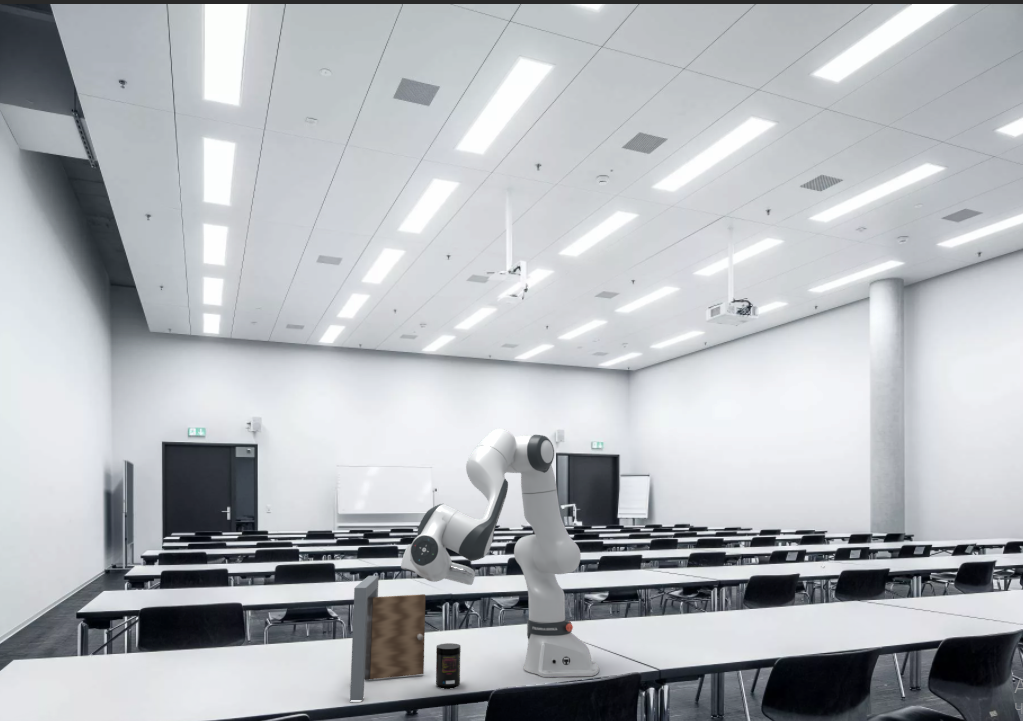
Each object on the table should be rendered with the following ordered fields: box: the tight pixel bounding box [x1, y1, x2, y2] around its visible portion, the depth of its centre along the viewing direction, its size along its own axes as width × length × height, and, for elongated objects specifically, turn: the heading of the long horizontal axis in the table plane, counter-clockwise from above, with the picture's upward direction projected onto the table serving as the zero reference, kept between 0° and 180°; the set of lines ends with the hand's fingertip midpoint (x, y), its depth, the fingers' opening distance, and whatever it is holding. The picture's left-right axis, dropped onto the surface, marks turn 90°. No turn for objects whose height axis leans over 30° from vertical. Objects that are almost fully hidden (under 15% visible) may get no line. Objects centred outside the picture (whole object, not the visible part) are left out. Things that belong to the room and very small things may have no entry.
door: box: [364, 594, 426, 681], centre depth 197 cm, size 17×3×22 cm, turn 111°
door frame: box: [349, 575, 380, 702], centre depth 188 cm, size 24×3×28 cm, turn 3°
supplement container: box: [435, 642, 462, 690], centre depth 189 cm, size 7×7×10 cm
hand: (442, 573), depth 193 cm, fingers open, 8 cm apart
